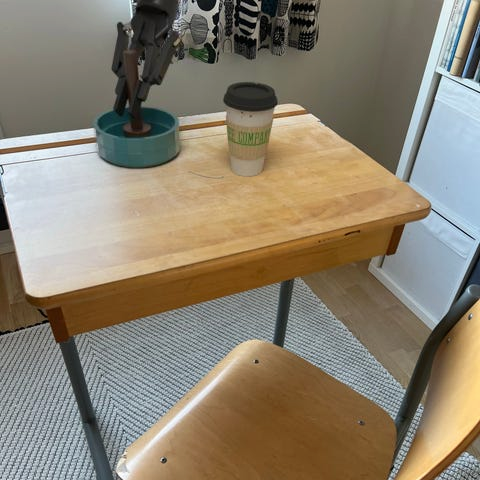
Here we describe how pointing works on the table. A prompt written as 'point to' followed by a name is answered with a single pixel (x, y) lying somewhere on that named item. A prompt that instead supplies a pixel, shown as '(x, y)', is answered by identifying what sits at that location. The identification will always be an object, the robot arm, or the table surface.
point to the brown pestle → (131, 69)
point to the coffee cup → (249, 125)
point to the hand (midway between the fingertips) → (124, 114)
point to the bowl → (137, 149)
